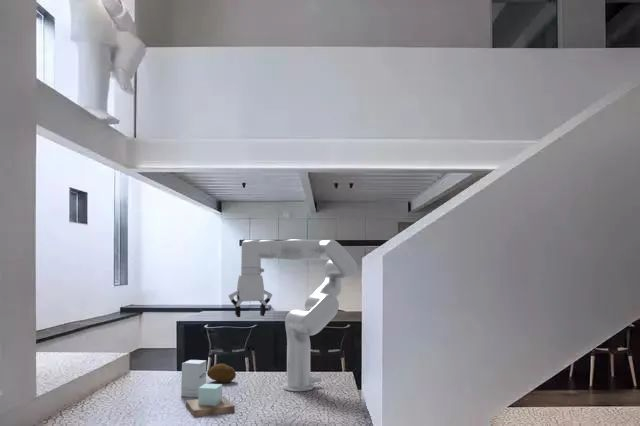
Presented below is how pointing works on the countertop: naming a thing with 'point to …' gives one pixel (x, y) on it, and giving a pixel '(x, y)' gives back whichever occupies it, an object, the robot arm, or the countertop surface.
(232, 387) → the countertop surface
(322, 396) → the countertop surface
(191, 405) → the wooden peg base
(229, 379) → the potato
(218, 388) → the pale blue cube
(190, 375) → the supplement box
